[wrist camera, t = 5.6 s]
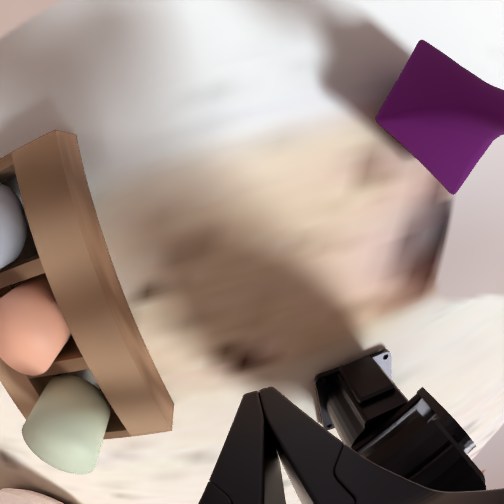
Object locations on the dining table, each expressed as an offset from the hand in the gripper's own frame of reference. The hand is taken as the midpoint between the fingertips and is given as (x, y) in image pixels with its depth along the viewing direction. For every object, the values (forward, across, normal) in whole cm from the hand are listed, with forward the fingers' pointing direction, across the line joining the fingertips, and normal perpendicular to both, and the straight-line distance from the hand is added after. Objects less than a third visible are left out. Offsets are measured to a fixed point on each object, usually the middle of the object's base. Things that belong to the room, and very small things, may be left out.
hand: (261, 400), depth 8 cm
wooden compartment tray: (+12, +13, -1) cm, 18 cm away
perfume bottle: (+12, -15, -7) cm, 21 cm away
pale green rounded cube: (+9, +13, +6) cm, 17 cm away
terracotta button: (+12, +13, -1) cm, 18 cm away
